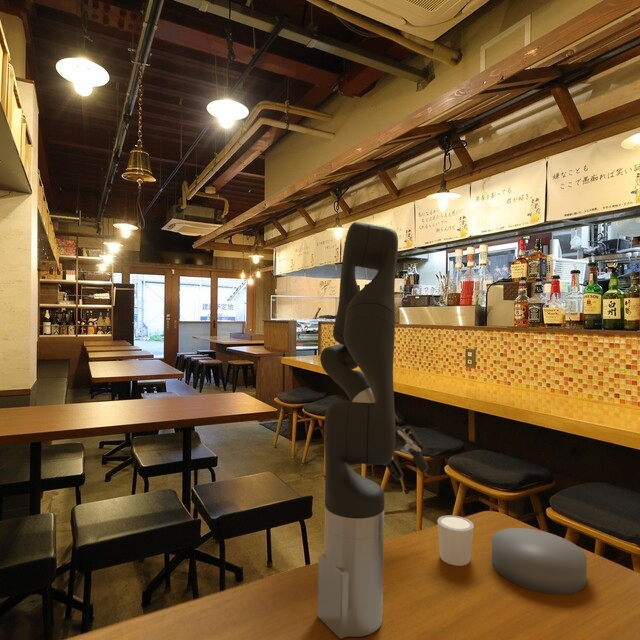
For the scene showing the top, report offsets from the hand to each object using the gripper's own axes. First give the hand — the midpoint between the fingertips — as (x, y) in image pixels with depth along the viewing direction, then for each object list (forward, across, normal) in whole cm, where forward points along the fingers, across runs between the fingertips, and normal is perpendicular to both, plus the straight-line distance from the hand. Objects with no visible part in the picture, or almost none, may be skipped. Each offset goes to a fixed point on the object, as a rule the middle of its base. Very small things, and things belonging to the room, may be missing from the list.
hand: (413, 474), depth 96 cm
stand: (+25, +9, -6) cm, 28 cm away
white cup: (+17, 0, +2) cm, 17 cm away
